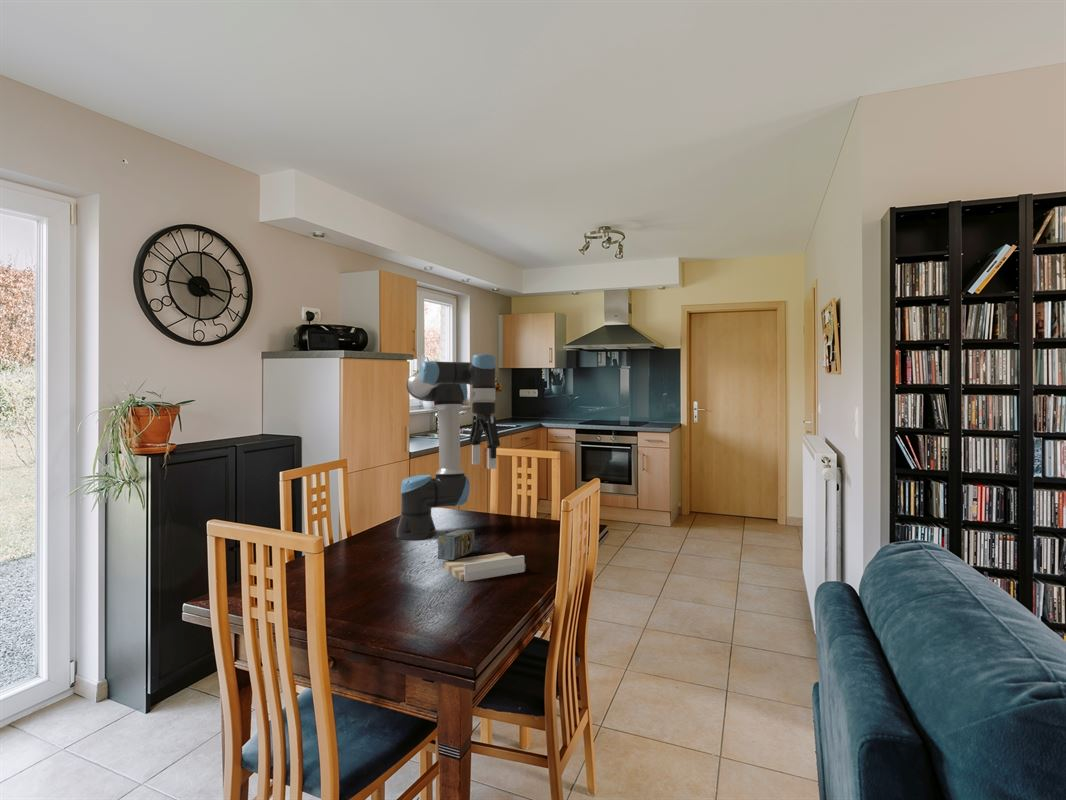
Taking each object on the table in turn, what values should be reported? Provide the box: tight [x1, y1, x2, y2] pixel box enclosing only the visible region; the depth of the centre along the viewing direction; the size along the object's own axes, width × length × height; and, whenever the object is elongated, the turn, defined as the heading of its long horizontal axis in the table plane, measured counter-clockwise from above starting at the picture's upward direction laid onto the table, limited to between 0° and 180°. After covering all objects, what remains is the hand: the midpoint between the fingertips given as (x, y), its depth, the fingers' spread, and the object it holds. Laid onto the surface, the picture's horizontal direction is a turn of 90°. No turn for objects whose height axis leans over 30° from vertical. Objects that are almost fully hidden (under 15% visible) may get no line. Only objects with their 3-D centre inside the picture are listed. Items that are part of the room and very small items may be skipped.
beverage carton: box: [437, 528, 476, 561], centre depth 188 cm, size 8×19×7 cm
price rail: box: [464, 555, 525, 583], centre depth 170 cm, size 1×20×5 cm, turn 119°
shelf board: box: [442, 552, 527, 582], centre depth 177 cm, size 16×22×2 cm
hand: (483, 466), depth 180 cm, fingers open, 13 cm apart
